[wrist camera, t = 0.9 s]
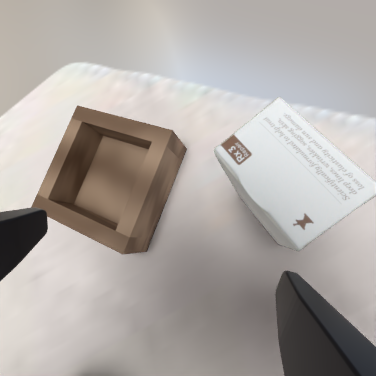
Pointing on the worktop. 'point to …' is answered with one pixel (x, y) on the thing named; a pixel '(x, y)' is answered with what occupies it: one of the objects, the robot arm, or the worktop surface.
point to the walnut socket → (111, 179)
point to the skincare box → (292, 175)
